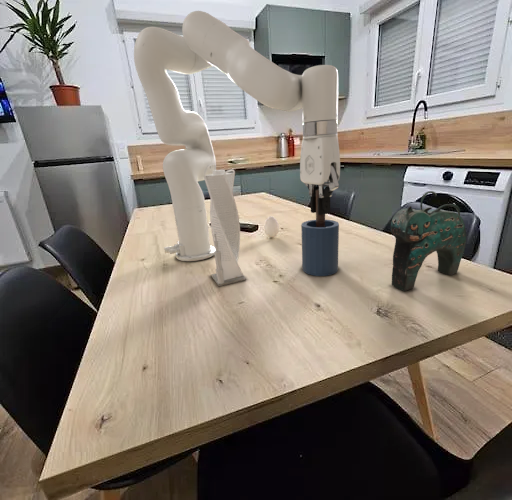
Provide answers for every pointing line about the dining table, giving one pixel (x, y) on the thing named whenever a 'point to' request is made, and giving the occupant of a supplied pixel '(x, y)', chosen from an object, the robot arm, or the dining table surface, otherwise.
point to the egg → (271, 226)
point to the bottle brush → (319, 218)
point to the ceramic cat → (426, 242)
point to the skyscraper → (224, 226)
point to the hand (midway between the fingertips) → (320, 212)
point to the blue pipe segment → (320, 248)
